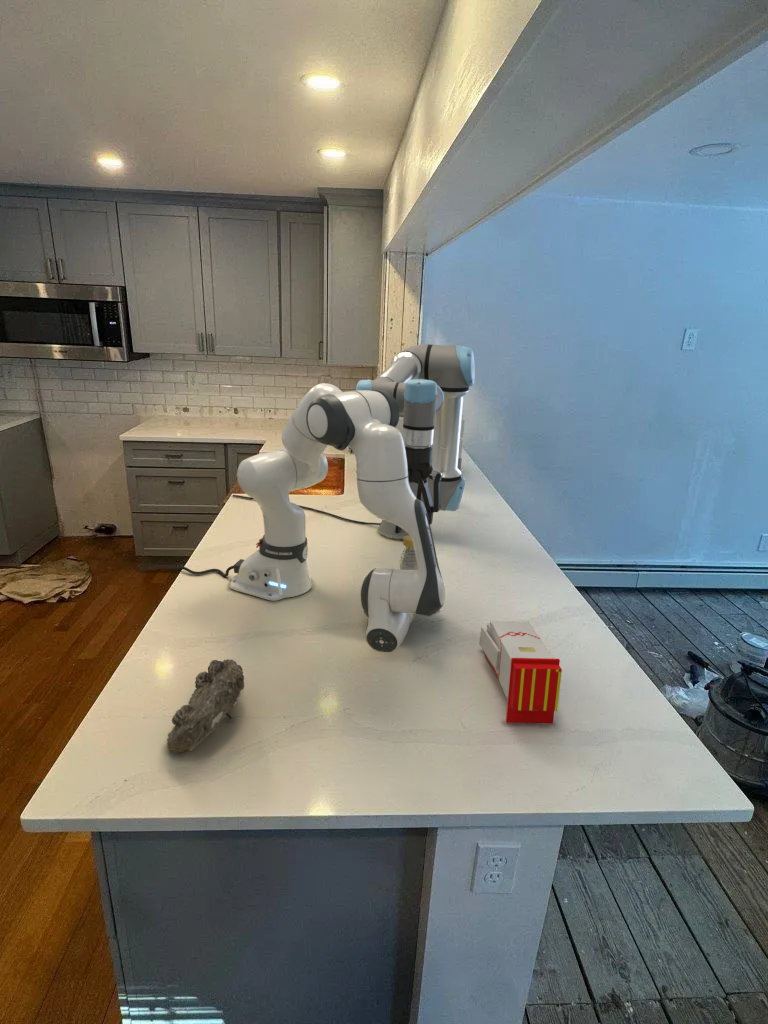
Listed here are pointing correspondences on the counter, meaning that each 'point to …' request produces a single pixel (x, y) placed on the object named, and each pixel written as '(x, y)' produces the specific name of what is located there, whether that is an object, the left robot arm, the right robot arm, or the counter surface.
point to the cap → (408, 542)
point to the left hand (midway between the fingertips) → (408, 582)
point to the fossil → (206, 705)
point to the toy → (523, 670)
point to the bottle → (408, 559)
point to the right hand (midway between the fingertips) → (411, 533)
